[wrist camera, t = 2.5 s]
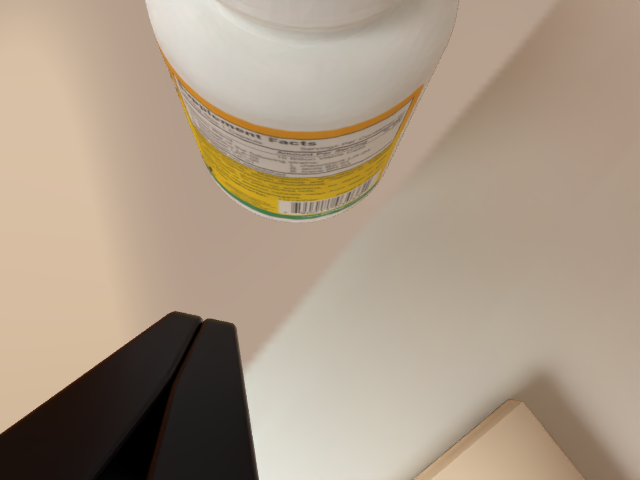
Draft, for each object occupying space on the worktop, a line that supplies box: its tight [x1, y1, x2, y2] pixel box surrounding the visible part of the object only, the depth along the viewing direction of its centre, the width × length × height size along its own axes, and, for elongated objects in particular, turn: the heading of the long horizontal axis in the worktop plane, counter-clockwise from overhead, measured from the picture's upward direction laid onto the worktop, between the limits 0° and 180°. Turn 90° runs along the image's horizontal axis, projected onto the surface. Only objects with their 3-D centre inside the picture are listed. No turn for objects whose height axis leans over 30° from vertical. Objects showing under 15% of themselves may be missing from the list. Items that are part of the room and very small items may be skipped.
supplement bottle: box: [145, 0, 459, 223], centre depth 12 cm, size 5×5×10 cm
